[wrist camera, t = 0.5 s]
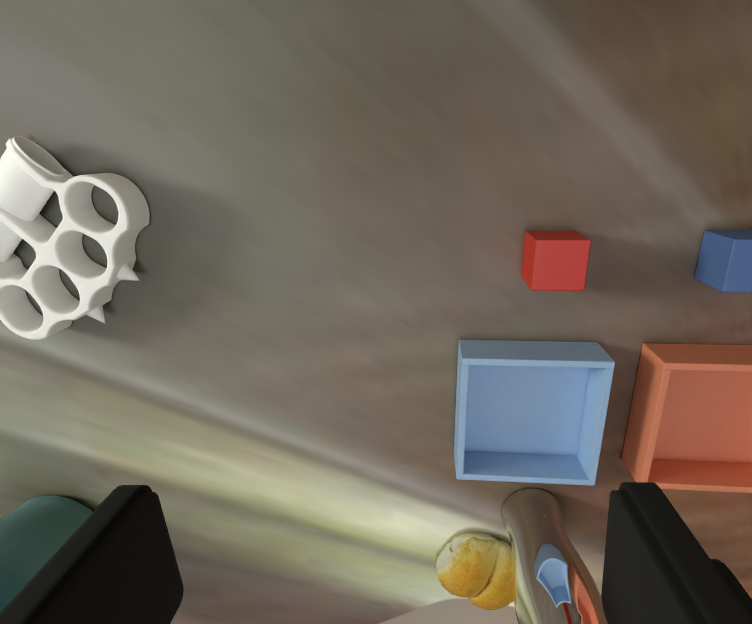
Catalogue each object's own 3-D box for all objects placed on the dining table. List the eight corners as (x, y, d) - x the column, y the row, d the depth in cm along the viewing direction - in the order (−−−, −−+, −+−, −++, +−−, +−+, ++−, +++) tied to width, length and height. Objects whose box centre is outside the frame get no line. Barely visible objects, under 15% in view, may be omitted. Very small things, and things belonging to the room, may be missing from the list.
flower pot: (172, 553, 55) (70, 719, 39) (78, 610, 60) (-47, 777, 44) (58, 445, 51) (-106, 579, 35) (-33, 514, 56) (-213, 660, 40)
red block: (525, 230, 39) (536, 239, 35) (575, 230, 39) (591, 239, 35) (521, 277, 40) (531, 290, 37) (569, 277, 40) (584, 291, 36)
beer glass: (578, 519, 48) (643, 674, 34) (520, 547, 50) (557, 705, 36) (542, 472, 47) (593, 614, 33) (483, 503, 49) (507, 650, 35)
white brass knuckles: (50, 106, 39) (186, 230, 42) (-41, 254, 45) (85, 356, 47) (18, 103, 36) (167, 237, 39) (-76, 263, 42) (60, 371, 44)
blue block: (703, 230, 38) (735, 239, 34) (757, 229, 37) (794, 239, 33) (693, 278, 39) (722, 292, 35) (745, 278, 39) (779, 292, 35)
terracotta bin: (642, 342, 41) (665, 363, 37) (792, 345, 40) (831, 366, 36) (621, 458, 45) (639, 487, 41) (756, 464, 44) (788, 494, 40)
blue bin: (458, 339, 43) (462, 358, 39) (597, 341, 42) (615, 361, 38) (453, 451, 47) (456, 479, 43) (580, 457, 46) (594, 485, 42)
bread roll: (493, 600, 53) (498, 635, 49) (426, 564, 52) (426, 597, 48) (538, 555, 50) (547, 588, 46) (467, 516, 49) (471, 547, 46)
